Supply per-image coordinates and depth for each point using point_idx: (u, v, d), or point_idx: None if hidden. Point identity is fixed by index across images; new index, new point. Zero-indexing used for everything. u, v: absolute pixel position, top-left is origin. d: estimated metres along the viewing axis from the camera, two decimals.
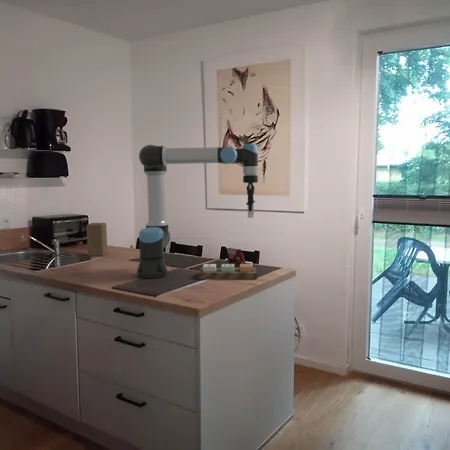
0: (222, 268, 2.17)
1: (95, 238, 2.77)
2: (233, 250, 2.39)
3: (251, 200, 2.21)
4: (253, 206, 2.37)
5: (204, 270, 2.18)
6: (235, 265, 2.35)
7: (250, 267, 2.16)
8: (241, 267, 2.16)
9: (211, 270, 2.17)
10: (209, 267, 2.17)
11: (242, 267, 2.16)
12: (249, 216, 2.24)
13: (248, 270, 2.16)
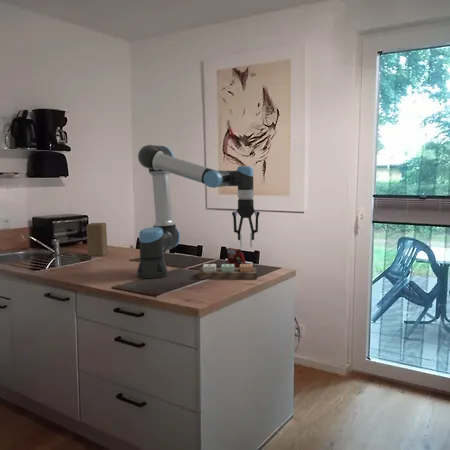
0: (222, 268, 2.17)
1: (95, 238, 2.77)
2: (233, 250, 2.39)
3: None
4: (250, 237, 2.16)
5: (204, 270, 2.18)
6: (235, 265, 2.35)
7: (250, 267, 2.16)
8: (241, 267, 2.16)
9: (211, 270, 2.17)
10: (209, 267, 2.17)
11: (242, 267, 2.16)
12: None
13: (248, 270, 2.16)
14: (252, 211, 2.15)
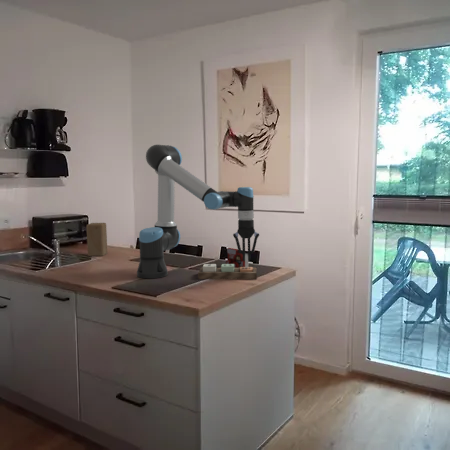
0: (222, 268, 2.17)
1: (95, 238, 2.77)
2: (233, 250, 2.39)
3: (238, 250, 2.18)
4: (246, 258, 2.17)
5: (204, 270, 2.18)
6: (235, 265, 2.35)
7: (250, 270, 2.16)
8: (241, 270, 2.16)
9: (211, 270, 2.17)
10: (209, 267, 2.17)
11: (242, 270, 2.16)
12: None
13: None
14: (252, 232, 2.16)
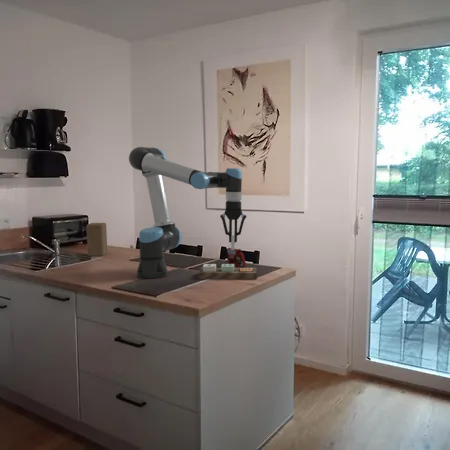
0: (222, 268, 2.17)
1: (95, 238, 2.77)
2: (233, 250, 2.39)
3: (225, 231, 2.17)
4: (232, 240, 2.17)
5: (204, 270, 2.18)
6: (235, 265, 2.35)
7: (250, 271, 2.16)
8: (241, 271, 2.16)
9: (211, 270, 2.17)
10: (209, 267, 2.17)
11: (242, 271, 2.16)
12: None
13: None
14: (239, 213, 2.15)
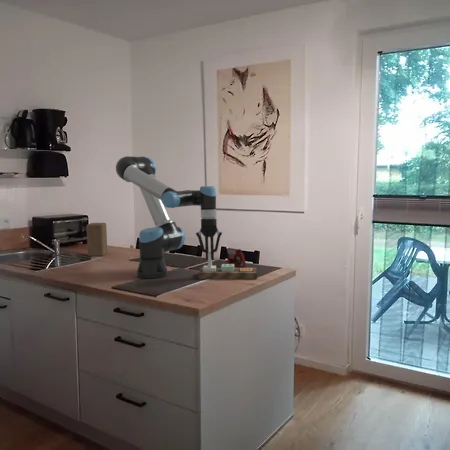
0: (222, 268, 2.17)
1: (95, 238, 2.77)
2: (233, 250, 2.39)
3: None
4: (209, 257, 2.18)
5: None
6: (235, 265, 2.35)
7: (250, 271, 2.16)
8: (241, 271, 2.16)
9: None
10: (209, 268, 2.17)
11: (242, 271, 2.16)
12: None
13: None
14: (215, 230, 2.17)
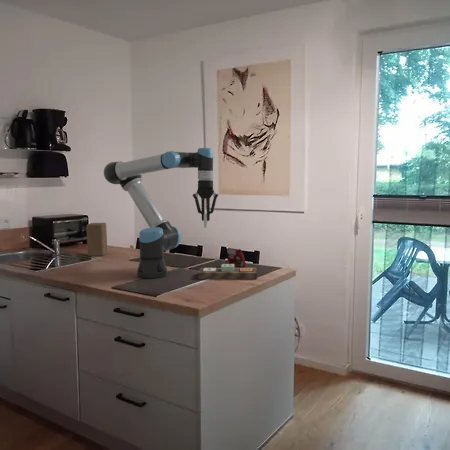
0: (222, 268, 2.17)
1: (95, 238, 2.77)
2: (233, 250, 2.39)
3: None
4: (205, 218, 2.22)
5: None
6: (235, 265, 2.35)
7: (250, 271, 2.16)
8: (241, 271, 2.16)
9: None
10: (210, 271, 2.17)
11: (242, 271, 2.16)
12: None
13: None
14: (211, 192, 2.20)
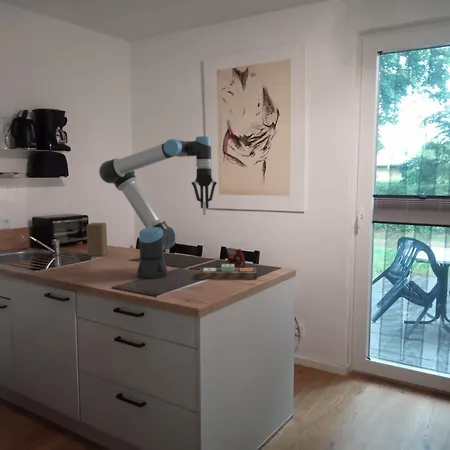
0: (222, 268, 2.17)
1: (95, 238, 2.77)
2: (233, 250, 2.39)
3: None
4: (204, 205, 2.26)
5: None
6: (235, 265, 2.35)
7: (250, 271, 2.16)
8: (241, 271, 2.16)
9: None
10: (210, 271, 2.17)
11: (242, 271, 2.16)
12: None
13: None
14: (210, 180, 2.24)
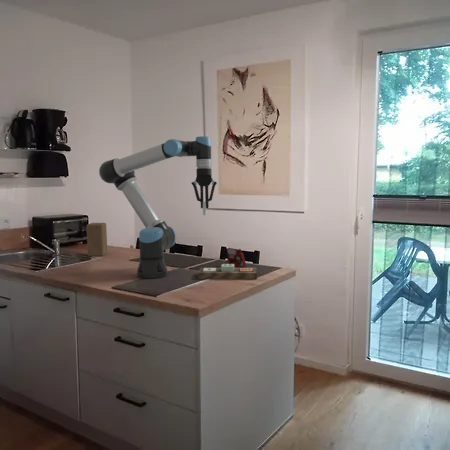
0: (222, 268, 2.17)
1: (95, 238, 2.77)
2: (233, 250, 2.39)
3: None
4: (204, 205, 2.26)
5: None
6: (235, 265, 2.35)
7: (250, 271, 2.16)
8: (241, 271, 2.16)
9: None
10: (210, 271, 2.17)
11: (242, 271, 2.16)
12: None
13: None
14: (210, 180, 2.24)
